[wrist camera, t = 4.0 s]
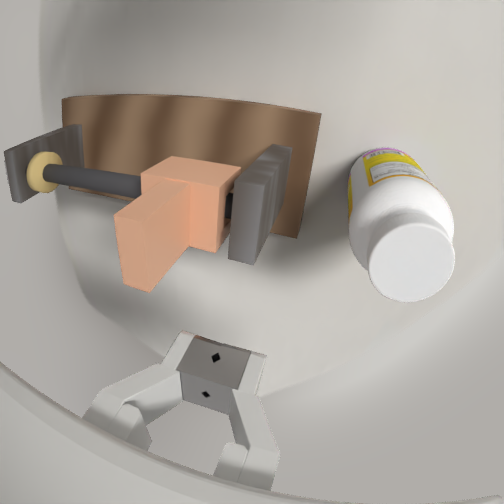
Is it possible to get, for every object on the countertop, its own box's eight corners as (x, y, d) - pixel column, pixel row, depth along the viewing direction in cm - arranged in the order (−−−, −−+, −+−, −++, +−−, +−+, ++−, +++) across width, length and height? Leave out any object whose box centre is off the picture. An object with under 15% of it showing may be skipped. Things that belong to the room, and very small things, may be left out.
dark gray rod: (264, 174, 20) (248, 194, 17) (258, 223, 22) (242, 250, 19) (25, 145, 24) (-2, 157, 21) (30, 177, 26) (5, 191, 23)
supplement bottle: (387, 232, 27) (403, 335, 16) (332, 186, 26) (319, 271, 16) (437, 181, 23) (493, 263, 12) (381, 128, 22) (414, 174, 12)
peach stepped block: (241, 167, 19) (177, 228, 12) (235, 224, 22) (179, 304, 15) (171, 156, 20) (87, 206, 13) (171, 210, 23) (99, 276, 16)
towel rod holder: (321, 113, 23) (306, 137, 14) (299, 230, 29) (273, 308, 20) (70, 96, 28) (-8, 120, 19) (76, 184, 34) (10, 225, 25)
